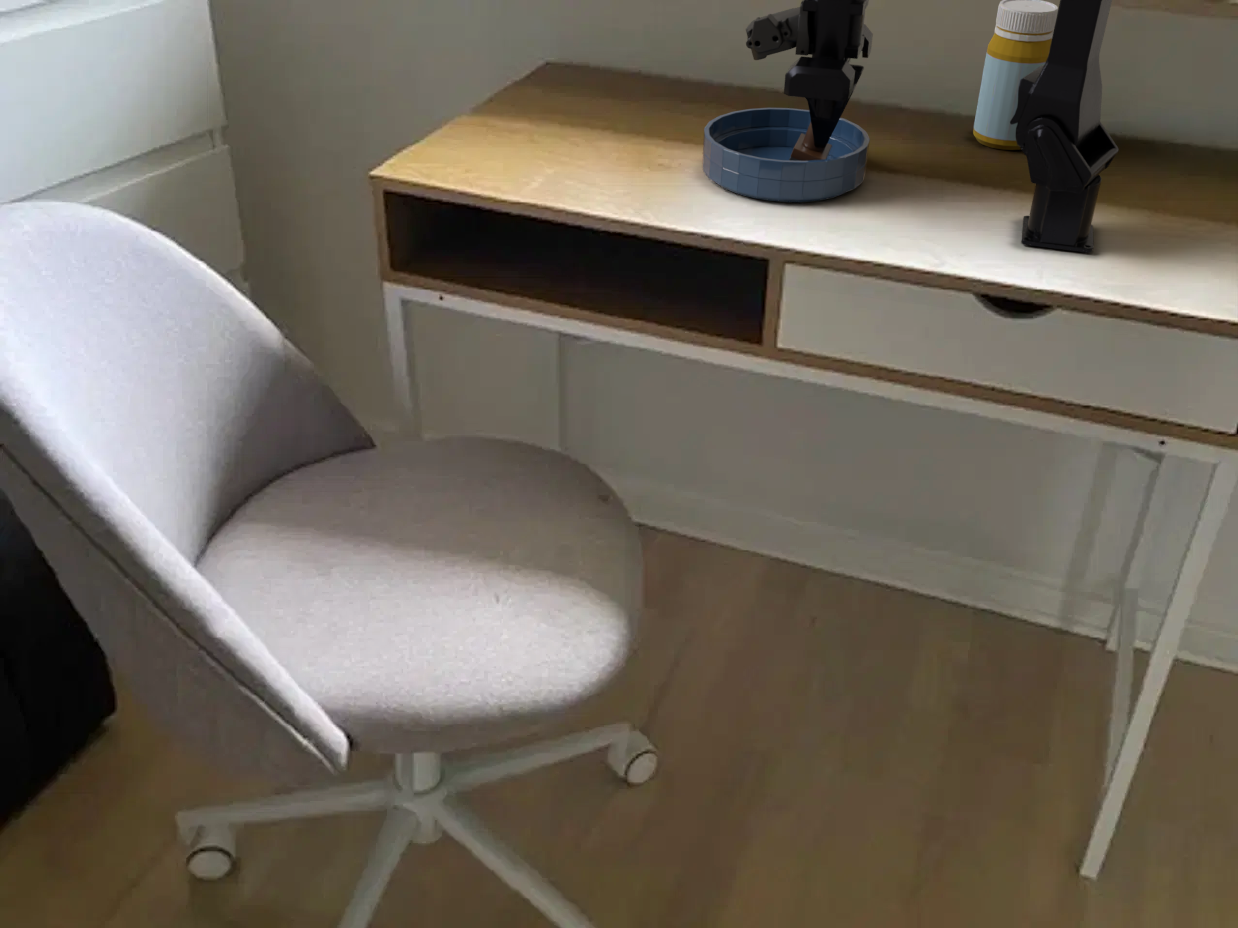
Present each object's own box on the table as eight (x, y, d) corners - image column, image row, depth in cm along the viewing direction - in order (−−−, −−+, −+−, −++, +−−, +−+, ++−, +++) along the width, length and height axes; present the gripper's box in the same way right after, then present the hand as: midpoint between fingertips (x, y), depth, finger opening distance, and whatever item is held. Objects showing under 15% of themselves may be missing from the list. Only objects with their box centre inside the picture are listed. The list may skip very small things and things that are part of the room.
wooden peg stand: (816, 182, 134) (851, 97, 128) (785, 170, 134) (818, 84, 129) (823, 166, 138) (857, 82, 132) (793, 154, 138) (825, 70, 133)
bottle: (1029, 132, 150) (1055, -1, 142) (1039, 153, 144) (1067, 15, 136) (968, 129, 151) (991, -4, 143) (976, 150, 145) (1000, 12, 137)
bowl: (852, 214, 128) (857, 170, 126) (685, 193, 132) (687, 151, 130) (873, 158, 142) (878, 117, 140) (721, 140, 146) (723, 101, 144)
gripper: (773, -40, 135) (762, 108, 144) (736, 1, 120) (726, 164, 128) (881, -32, 133) (863, 119, 141) (857, 11, 117) (839, 177, 126)
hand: (822, 143), depth 134 cm, fingers closed on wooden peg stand, 2 cm apart
